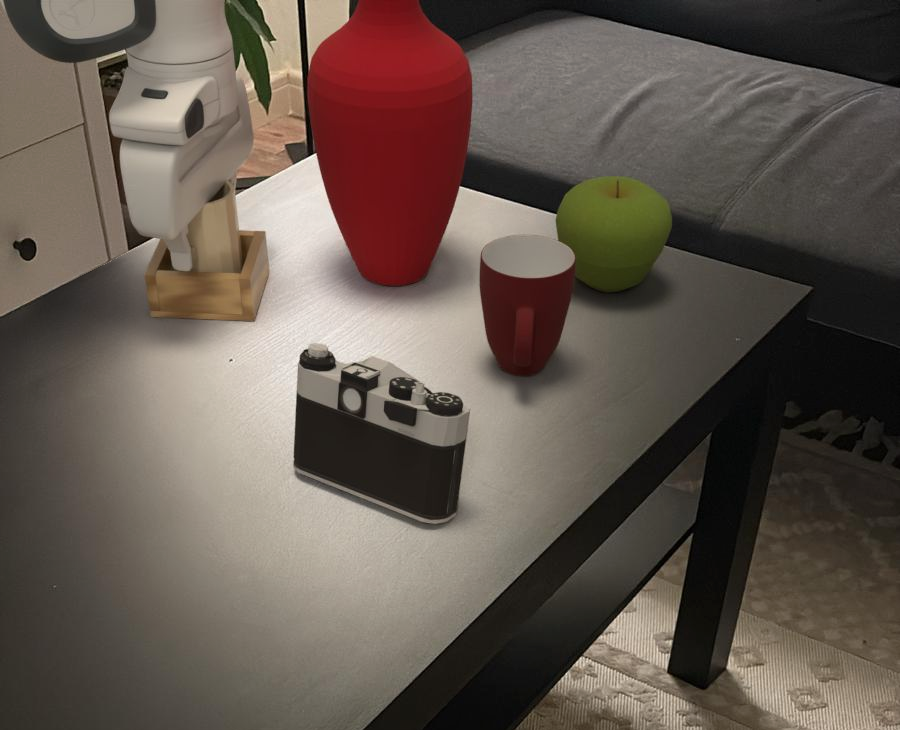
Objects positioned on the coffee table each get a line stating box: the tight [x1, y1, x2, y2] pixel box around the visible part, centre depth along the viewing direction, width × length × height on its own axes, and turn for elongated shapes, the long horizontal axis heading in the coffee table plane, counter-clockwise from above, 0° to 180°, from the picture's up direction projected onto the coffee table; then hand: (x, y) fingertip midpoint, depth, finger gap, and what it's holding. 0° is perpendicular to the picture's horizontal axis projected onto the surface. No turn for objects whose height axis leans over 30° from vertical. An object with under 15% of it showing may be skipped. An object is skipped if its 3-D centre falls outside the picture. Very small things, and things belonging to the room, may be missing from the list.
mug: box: [478, 234, 576, 377], centre depth 110 cm, size 11×8×10 cm
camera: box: [292, 342, 471, 525], centre depth 100 cm, size 15×11×10 cm
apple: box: [555, 175, 673, 294], centre depth 121 cm, size 11×10×10 cm
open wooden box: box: [143, 229, 270, 322], centre depth 121 cm, size 10×10×4 cm
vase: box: [306, 0, 473, 287], centre depth 115 cm, size 15×15×30 cm
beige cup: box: [176, 181, 243, 274], centre depth 119 cm, size 6×6×9 cm
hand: (204, 244), depth 119 cm, fingers open, 8 cm apart
